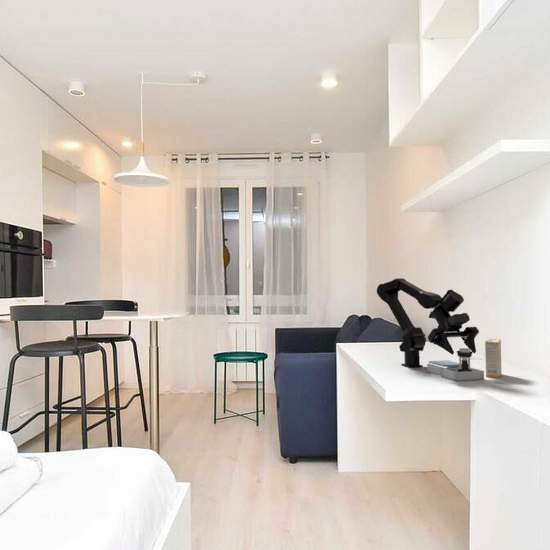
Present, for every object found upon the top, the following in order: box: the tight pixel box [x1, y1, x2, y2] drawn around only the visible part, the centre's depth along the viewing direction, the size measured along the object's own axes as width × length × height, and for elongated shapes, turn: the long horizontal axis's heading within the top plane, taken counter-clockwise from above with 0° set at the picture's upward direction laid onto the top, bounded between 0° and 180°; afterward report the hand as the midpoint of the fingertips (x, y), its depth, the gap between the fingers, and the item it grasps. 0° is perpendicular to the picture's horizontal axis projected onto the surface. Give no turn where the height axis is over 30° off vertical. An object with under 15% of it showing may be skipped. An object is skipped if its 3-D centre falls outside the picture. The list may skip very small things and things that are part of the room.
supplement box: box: [484, 338, 502, 379], centre depth 169 cm, size 8×5×13 cm, turn 149°
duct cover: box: [428, 360, 459, 368], centre depth 174 cm, size 9×9×1 cm
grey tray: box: [426, 363, 485, 382], centre depth 170 cm, size 19×12×3 cm, turn 15°
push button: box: [456, 347, 474, 372], centre depth 164 cm, size 7×5×10 cm
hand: (464, 353), depth 164 cm, fingers open, 9 cm apart
